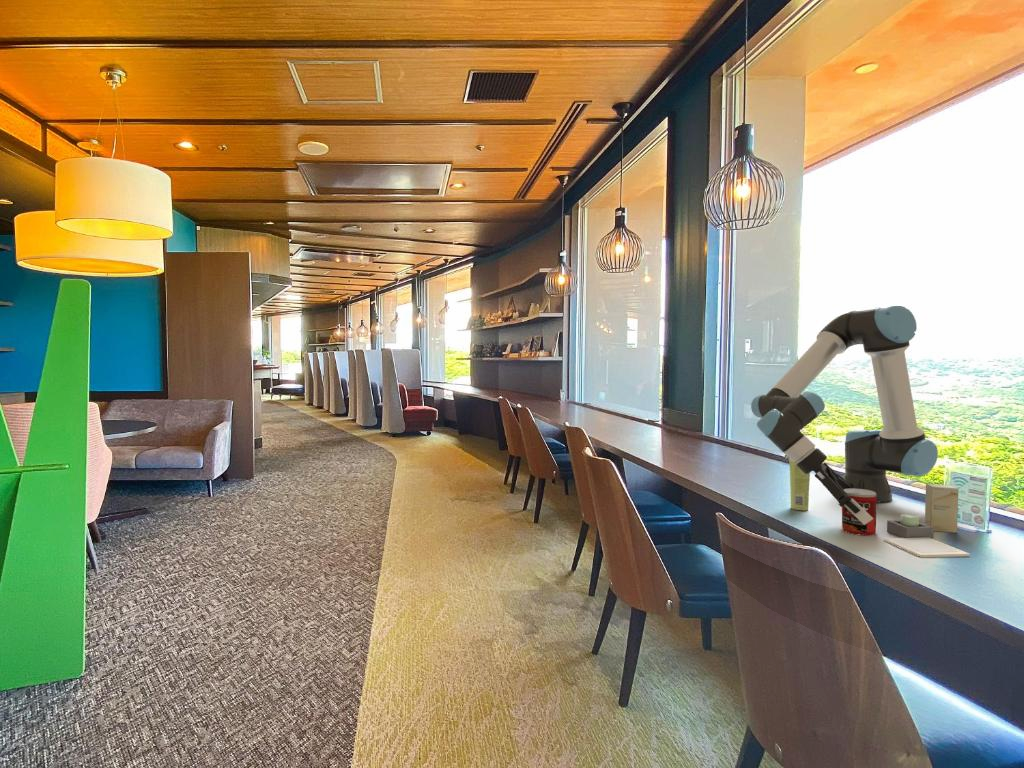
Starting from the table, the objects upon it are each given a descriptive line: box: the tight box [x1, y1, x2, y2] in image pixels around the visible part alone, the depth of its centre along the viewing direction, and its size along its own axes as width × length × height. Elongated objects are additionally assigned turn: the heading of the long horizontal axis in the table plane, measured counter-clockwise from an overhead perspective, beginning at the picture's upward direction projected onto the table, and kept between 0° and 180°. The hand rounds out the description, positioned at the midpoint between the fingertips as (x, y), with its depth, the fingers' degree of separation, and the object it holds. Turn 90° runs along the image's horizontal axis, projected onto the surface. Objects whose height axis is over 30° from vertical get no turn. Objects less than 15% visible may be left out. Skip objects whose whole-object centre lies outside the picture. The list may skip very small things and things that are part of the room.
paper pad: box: [882, 537, 971, 558], centre depth 132 cm, size 12×12×1 cm
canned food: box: [841, 488, 877, 536], centre depth 145 cm, size 8×8×11 cm
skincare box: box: [924, 483, 959, 533], centre depth 146 cm, size 6×4×12 cm
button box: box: [886, 519, 934, 539], centre depth 142 cm, size 7×7×3 cm
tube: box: [788, 458, 811, 511], centre depth 168 cm, size 6×5×20 cm
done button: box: [899, 513, 920, 527], centre depth 142 cm, size 4×4×3 cm
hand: (868, 515), depth 144 cm, fingers open, 13 cm apart
